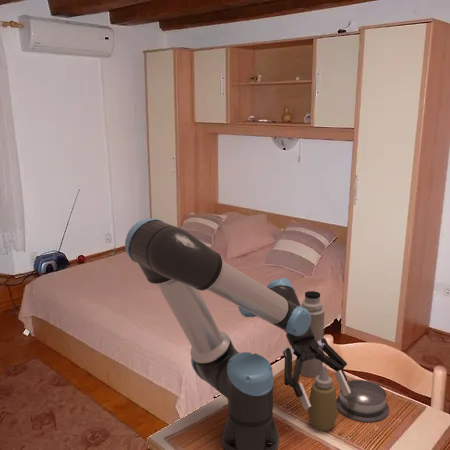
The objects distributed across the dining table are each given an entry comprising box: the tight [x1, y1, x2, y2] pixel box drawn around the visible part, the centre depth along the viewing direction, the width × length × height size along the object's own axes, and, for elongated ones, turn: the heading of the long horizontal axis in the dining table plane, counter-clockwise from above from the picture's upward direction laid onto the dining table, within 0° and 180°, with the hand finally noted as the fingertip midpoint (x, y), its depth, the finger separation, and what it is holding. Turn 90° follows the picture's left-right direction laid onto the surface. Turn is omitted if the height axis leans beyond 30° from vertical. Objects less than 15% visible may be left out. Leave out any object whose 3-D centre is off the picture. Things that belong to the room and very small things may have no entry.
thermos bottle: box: [300, 290, 325, 378], centre depth 162 cm, size 8×8×28 cm
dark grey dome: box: [336, 379, 390, 424], centre depth 145 cm, size 15×15×5 cm
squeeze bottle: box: [307, 365, 338, 432], centre depth 135 cm, size 8×8×18 cm
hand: (328, 401), depth 133 cm, fingers open, 13 cm apart
